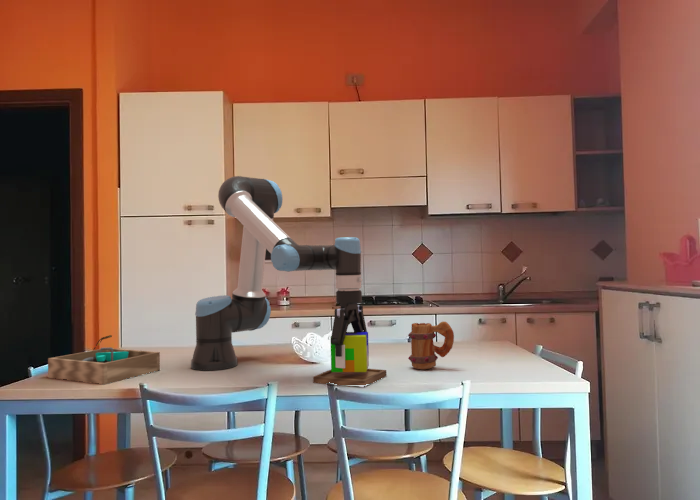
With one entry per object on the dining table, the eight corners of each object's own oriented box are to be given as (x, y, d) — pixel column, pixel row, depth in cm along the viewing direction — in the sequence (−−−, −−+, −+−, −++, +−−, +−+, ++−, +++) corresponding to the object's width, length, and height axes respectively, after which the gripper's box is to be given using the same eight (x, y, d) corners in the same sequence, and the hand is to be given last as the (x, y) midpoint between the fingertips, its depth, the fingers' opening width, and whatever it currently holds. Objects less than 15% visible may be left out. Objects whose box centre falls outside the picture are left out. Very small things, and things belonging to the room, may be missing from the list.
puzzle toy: (368, 365, 162) (368, 331, 162) (366, 372, 152) (365, 336, 152) (335, 365, 163) (335, 332, 163) (331, 372, 153) (330, 336, 153)
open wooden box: (48, 377, 168) (48, 358, 169) (106, 365, 188) (106, 348, 188) (103, 384, 157) (103, 363, 157) (159, 370, 176) (159, 352, 176)
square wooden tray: (313, 382, 154) (313, 376, 154) (339, 372, 168) (339, 366, 168) (363, 387, 147) (363, 381, 147) (386, 376, 161) (386, 370, 161)
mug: (405, 370, 169) (404, 322, 170) (412, 365, 177) (411, 319, 177) (451, 372, 164) (450, 323, 164) (456, 367, 171) (455, 320, 172)
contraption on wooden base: (68, 382, 162) (68, 332, 162) (93, 370, 180) (93, 324, 180) (116, 380, 163) (115, 330, 163) (136, 368, 181) (136, 323, 181)
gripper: (341, 292, 145) (342, 372, 145) (377, 287, 167) (378, 357, 167) (317, 292, 149) (318, 370, 148) (355, 287, 170) (356, 356, 170)
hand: (350, 363), depth 157 cm, fingers closed on puzzle toy, 12 cm apart
